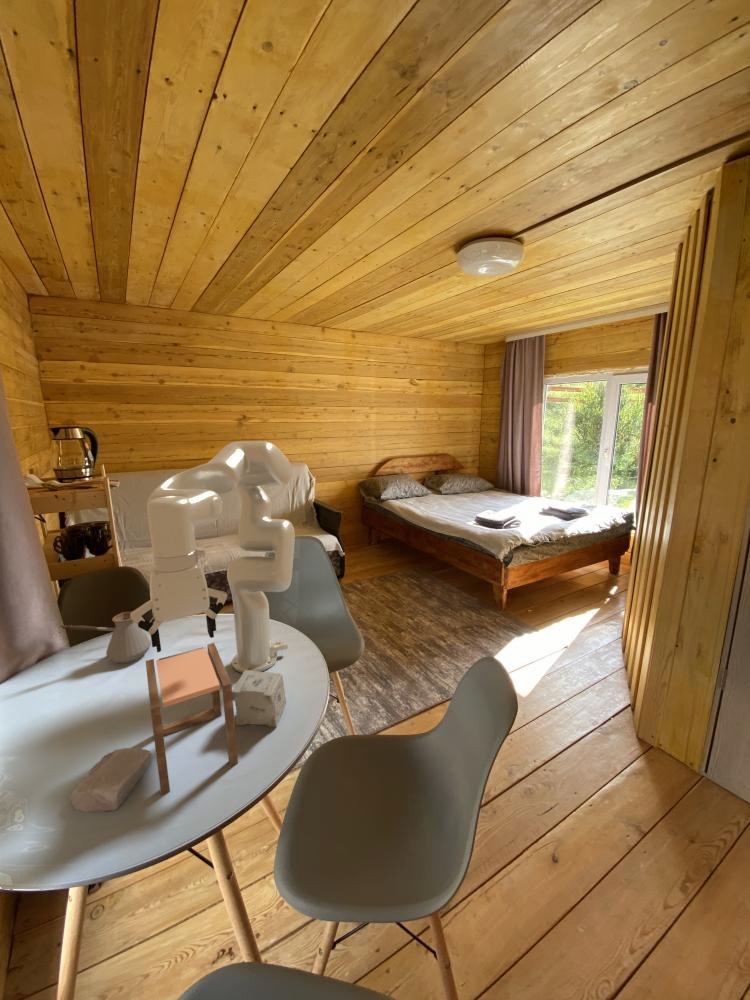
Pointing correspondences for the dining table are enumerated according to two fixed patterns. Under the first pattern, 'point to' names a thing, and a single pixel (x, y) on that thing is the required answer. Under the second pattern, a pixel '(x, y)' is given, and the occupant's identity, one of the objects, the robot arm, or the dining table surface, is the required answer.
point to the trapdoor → (186, 676)
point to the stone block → (111, 780)
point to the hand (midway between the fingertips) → (185, 641)
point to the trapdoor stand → (194, 719)
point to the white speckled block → (259, 698)
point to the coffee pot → (122, 639)
